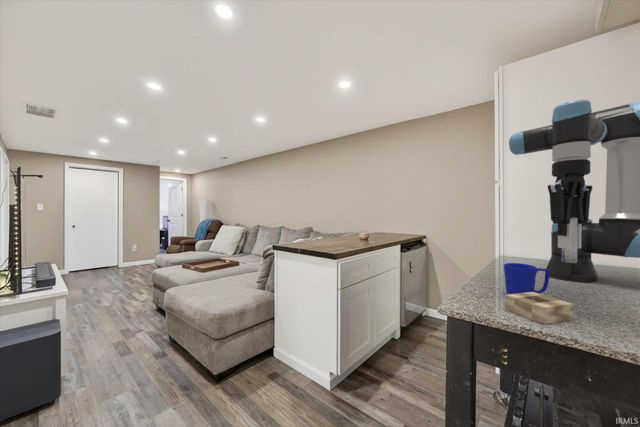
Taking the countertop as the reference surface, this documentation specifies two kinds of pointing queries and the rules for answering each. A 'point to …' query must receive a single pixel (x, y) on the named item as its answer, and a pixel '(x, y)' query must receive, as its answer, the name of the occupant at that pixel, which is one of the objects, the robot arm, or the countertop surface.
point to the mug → (523, 278)
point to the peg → (571, 254)
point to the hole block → (539, 307)
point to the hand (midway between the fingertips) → (569, 247)
